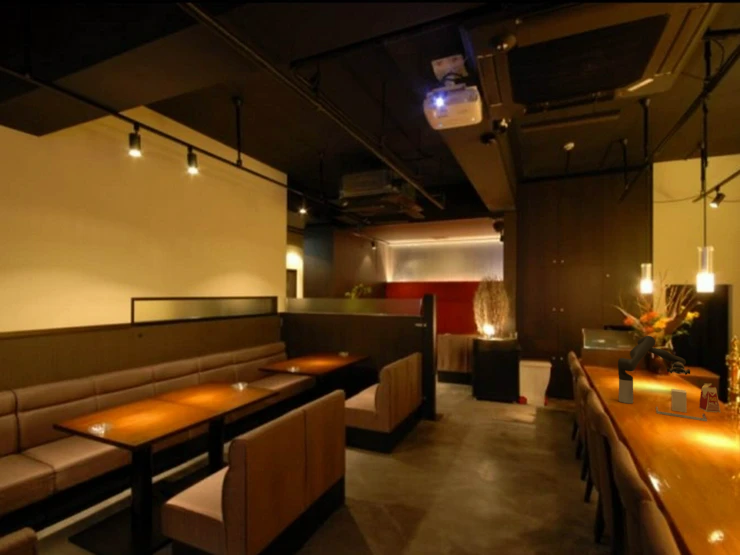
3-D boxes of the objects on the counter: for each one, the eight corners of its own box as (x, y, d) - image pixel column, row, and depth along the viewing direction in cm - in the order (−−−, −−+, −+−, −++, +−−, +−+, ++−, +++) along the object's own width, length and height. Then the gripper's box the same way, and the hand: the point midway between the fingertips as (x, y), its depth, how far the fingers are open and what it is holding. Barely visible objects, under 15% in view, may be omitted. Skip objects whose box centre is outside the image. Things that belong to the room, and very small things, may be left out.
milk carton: (721, 412, 275) (720, 384, 276) (706, 411, 277) (705, 383, 278) (712, 408, 284) (712, 381, 285) (698, 407, 286) (697, 380, 286)
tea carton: (672, 410, 279) (672, 391, 280) (671, 407, 286) (671, 388, 286) (686, 412, 275) (686, 392, 275) (685, 409, 281) (685, 390, 282)
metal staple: (656, 413, 273) (656, 411, 273) (656, 408, 284) (655, 406, 284) (707, 421, 257) (707, 419, 257) (704, 415, 268) (704, 413, 268)
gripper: (667, 362, 315) (666, 366, 302) (689, 364, 306) (690, 369, 293) (667, 371, 315) (667, 376, 302) (689, 373, 306) (690, 379, 293)
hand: (678, 372), depth 298 cm, fingers open, 8 cm apart
